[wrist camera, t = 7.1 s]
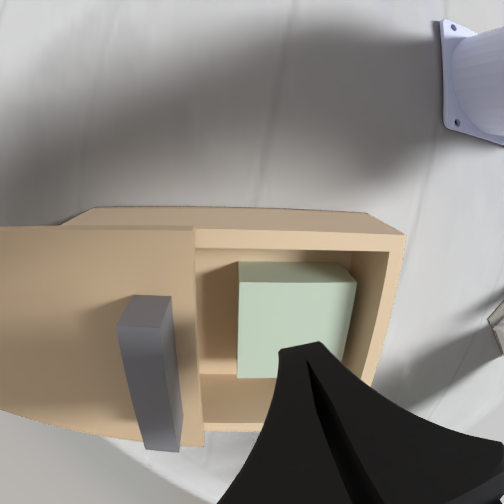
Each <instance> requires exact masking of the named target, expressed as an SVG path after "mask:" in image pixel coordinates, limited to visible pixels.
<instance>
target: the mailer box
mask: <svg viewBox="0 0 504 504" xmlns="http://www.w3.org/2000/svg"><path fill="white" fill-rule="evenodd" d="M61 225H181V226H195V285H196V314H197V337H198V356H199V372H200V387H201V401H202V413H203V425H204V431H220V432H251V431H261V429H262V427H263V424H264V422H265V419H266V416H267V413H268V410H269V407H270V404H271V401H272V397H273V393H274V389H275V384H276V380H277V373H278V364H279V357H278V352H279V351H280V349H282V348H288V347H293V346H298V345H303V344H307V343H312V342H317V341H320V342H322V343H323V344H324V345H325V346H326V347H327V349H328V350H329V351H330V352H331V353H332V354H333V355H334V356H335V357H336V358H337V359H338V360H339V361H340V362H341V363H342V364H344V365H345V366H346V367H347V368H348V369H349V370H350V371H351V372H353V373H354V374H355V375H356V376H357V377H358V378H360V379H361V380H362V381H363V382H365V383H366V384H367V385H368V386H370V387H371V384H372V381H373V378H374V375H375V371H376V368H377V365H378V361H379V358H380V355H381V351H382V348H383V344H384V340H385V336H386V333H387V329H388V325H389V321H390V317H391V313H392V309H393V304H394V300H395V295H396V291H397V286H398V281H399V276H400V271H401V266H402V261H403V255H404V250H405V244H406V238H407V235H405V234H404V233H402V232H400V231H398V230H397V229H395V228H393V227H391V226H390V225H388V224H386V223H384V222H382V221H381V220H379V219H377V218H375V217H373V216H371V215H370V214H368V213H361V212H345V211H326V210H306V209H281V208H250V207H200V206H125V207H94V208H92V209H90V210H88V211H86V212H84V213H82V214H80V215H78V216H76V217H75V218H73V219H71V220H69V221H67V222H65V223H63V224H61Z"/></svg>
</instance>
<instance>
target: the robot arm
mask: <svg viewBox="0 0 504 504" xmlns="http://www.w3.org/2000/svg"><path fill="white" fill-rule="evenodd" d="M451 27H452V28H453V30H452V28H451ZM440 33H441V44H442V60H443V89H444V109H443V122H444V125H445V126H446V128H448V129H451V130H455V131H458V132H462V133H465V134H469V135H472V136H476V137H479V138H482V139H485V140H488V141H491V142H494V143H497V144H500V145H503V146H504V27H501V28H497V29H494V30H491V31H487V32H484V33H481V34H478V33H476V32H474V31H471V30H469V29H467V28H465V27H463V26H461V25H459V24H456V23H454V22H452V21H450V20H447V19H443V20H441V21H440ZM455 120H456V121H457V126H456V125H455ZM278 357H279V364H278V373H277V380H276V384H275V389H274V393H273V397H272V401H271V404H270V407H269V410H268V413H267V416H266V419H265V422H264V424H263V427H262V429H261V432H260V434H259V436H258V439H257V441H256V443H255V445H254V447H253V449H252V451H251V453H250V455H249V456H248V458H247V460H246V462H245V464H244V465H243V467H242V469H241V470H240V472H239V473H238V475H237V476H236V478H235V479H234V481H233V482H232V484H231V485H230V487H229V488H228V489H227V491H226V492H225V494H224V495H223V496H222V498H221V499H220V500H219V501H218V503H217V504H502V503H501V501H500V498H501V497H502V496H503V495H504V445H503V444H502V442H498V441H493V440H488V439H484V438H479V437H474V436H470V435H466V434H463V433H460V432H456V431H453V430H450V429H447V428H444V427H442V426H439V425H437V424H435V423H432V422H430V421H428V420H425V419H423V418H421V417H418V416H416V415H414V414H413V413H411V412H409V411H407V410H405V409H403V408H401V407H400V406H398V405H396V404H395V403H393V402H391V401H390V400H388V399H387V398H385V397H384V396H382V395H381V394H379V393H378V392H377V391H375V390H374V389H372V388H371V387H370V386H368V385H367V384H366V383H365V382H363V381H362V380H361V379H360V378H358V377H357V376H356V375H355V374H354V373H353V372H351V371H350V370H349V369H348V368H347V367H346V366H345V365H344V364H342V363H341V362H340V361H339V360H338V359H337V358H336V357H335V356H334V355H333V354H332V353H331V352H330V351H329V350H328V349H327V347H326V346H325V345H324V344H323V343H322V342H320V341H317V342H312V343H307V344H303V345H298V346H293V347H288V348H282V349H280V351H279V352H278Z"/></svg>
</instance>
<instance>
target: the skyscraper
mask: <svg viewBox="0 0 504 504" xmlns="http://www.w3.org/2000/svg"><path fill="white" fill-rule="evenodd" d="M488 320H489V323H490V325H491V327H492V330H493V332H494V335H495V337H496V340H497V342H498V345H499V347H500V350H501V352H502V355H503V356H504V300H503V301H502V303H501V304H500V305H499V306H498V307H497V308H496V310H495V311H494V312H493V313H492V314H491V315H490V316H489V317H488Z"/></svg>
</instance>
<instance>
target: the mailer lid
mask: <svg viewBox="0 0 504 504" xmlns="http://www.w3.org/2000/svg"><path fill="white" fill-rule="evenodd" d="M0 410H3V411H6V412H9V413H12V414H15V415H18V416H21V417H25V418H28V419H31V420H35V421H38V422H42V423H46V424H50V425H54V426H57V427H62V428H66V429H70V430H75V431H80V432H84V433H89V434H94V435H100V436H105V437H111V438H118V439H124V440H131V441H139V442H144V446H145V449H147V450H156V451H167V452H179V449H180V446H197V447H204V438H205V436H204V425H203V413H202V401H201V387H200V372H199V356H198V337H197V314H196V285H195V226H181V225H58V226H4V227H0Z"/></svg>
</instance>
